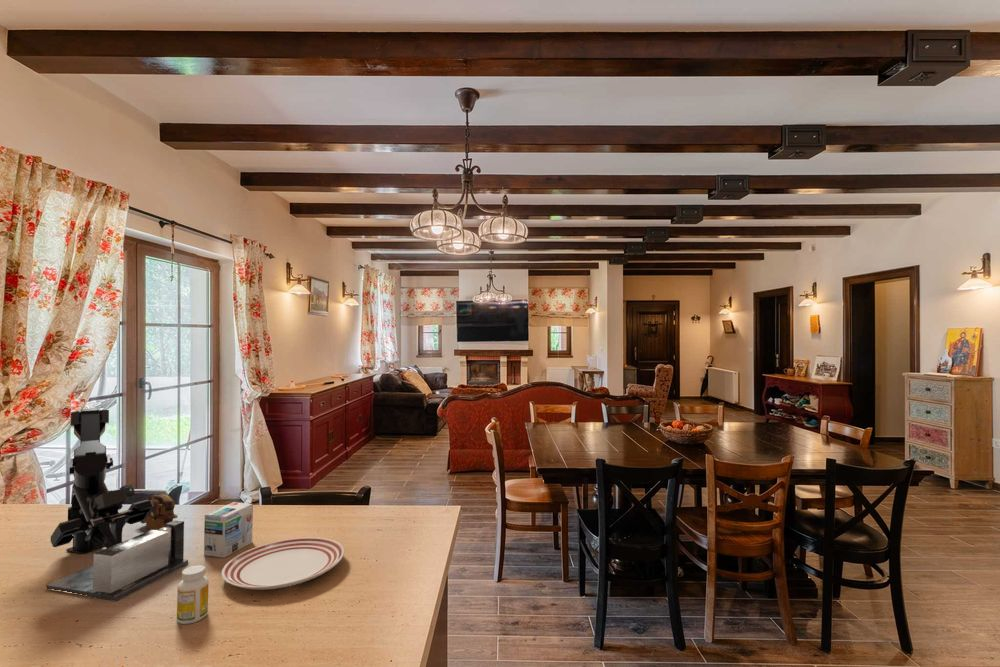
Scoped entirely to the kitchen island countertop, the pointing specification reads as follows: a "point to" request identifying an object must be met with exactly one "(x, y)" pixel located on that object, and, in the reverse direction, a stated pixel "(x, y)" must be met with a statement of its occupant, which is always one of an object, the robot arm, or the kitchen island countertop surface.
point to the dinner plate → (283, 563)
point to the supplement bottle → (192, 595)
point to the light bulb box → (228, 529)
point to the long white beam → (131, 560)
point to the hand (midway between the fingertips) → (118, 551)
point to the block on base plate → (84, 582)
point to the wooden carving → (160, 512)
